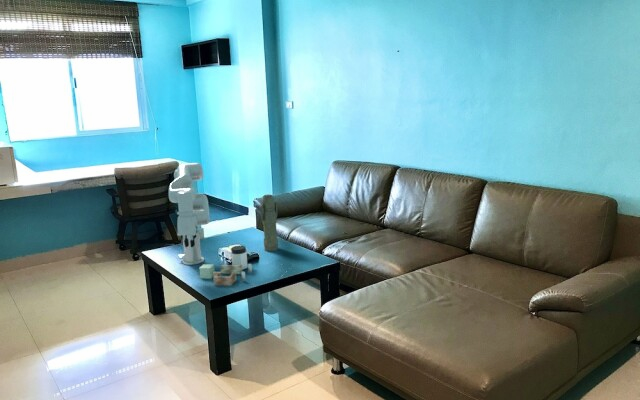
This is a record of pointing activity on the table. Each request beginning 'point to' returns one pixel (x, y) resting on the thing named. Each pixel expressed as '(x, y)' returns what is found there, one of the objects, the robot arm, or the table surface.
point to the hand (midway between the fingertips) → (189, 246)
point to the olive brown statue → (269, 222)
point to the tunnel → (227, 270)
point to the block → (207, 271)
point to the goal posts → (248, 271)
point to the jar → (239, 256)
